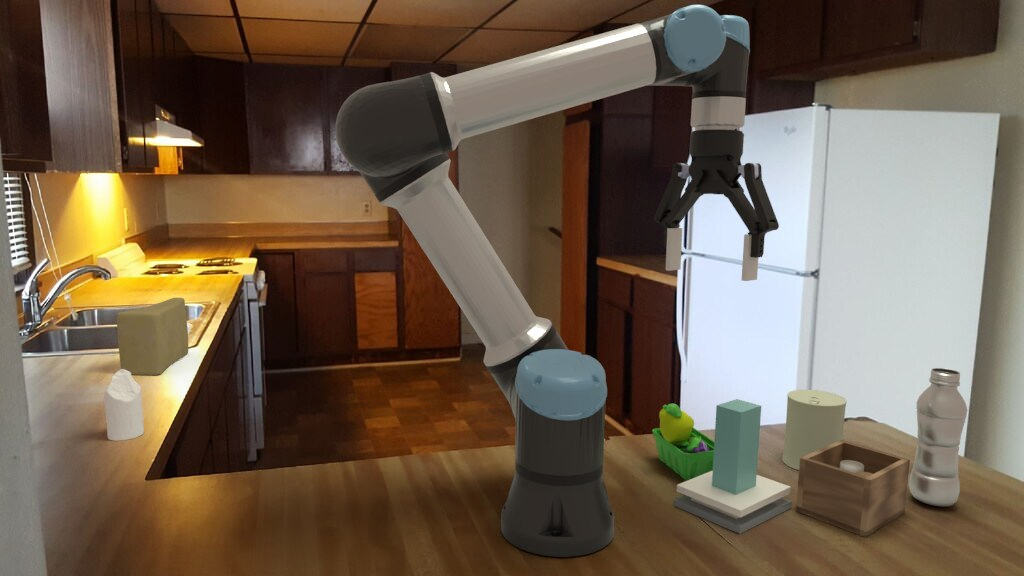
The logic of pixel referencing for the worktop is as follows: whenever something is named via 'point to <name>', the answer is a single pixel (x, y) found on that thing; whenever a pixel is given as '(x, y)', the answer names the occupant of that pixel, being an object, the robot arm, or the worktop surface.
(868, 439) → the worktop surface
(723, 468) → the lid
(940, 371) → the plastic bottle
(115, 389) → the white upright rounded piece
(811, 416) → the can
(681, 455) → the fruit basket
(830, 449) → the box
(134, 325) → the cheese
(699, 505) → the plate
